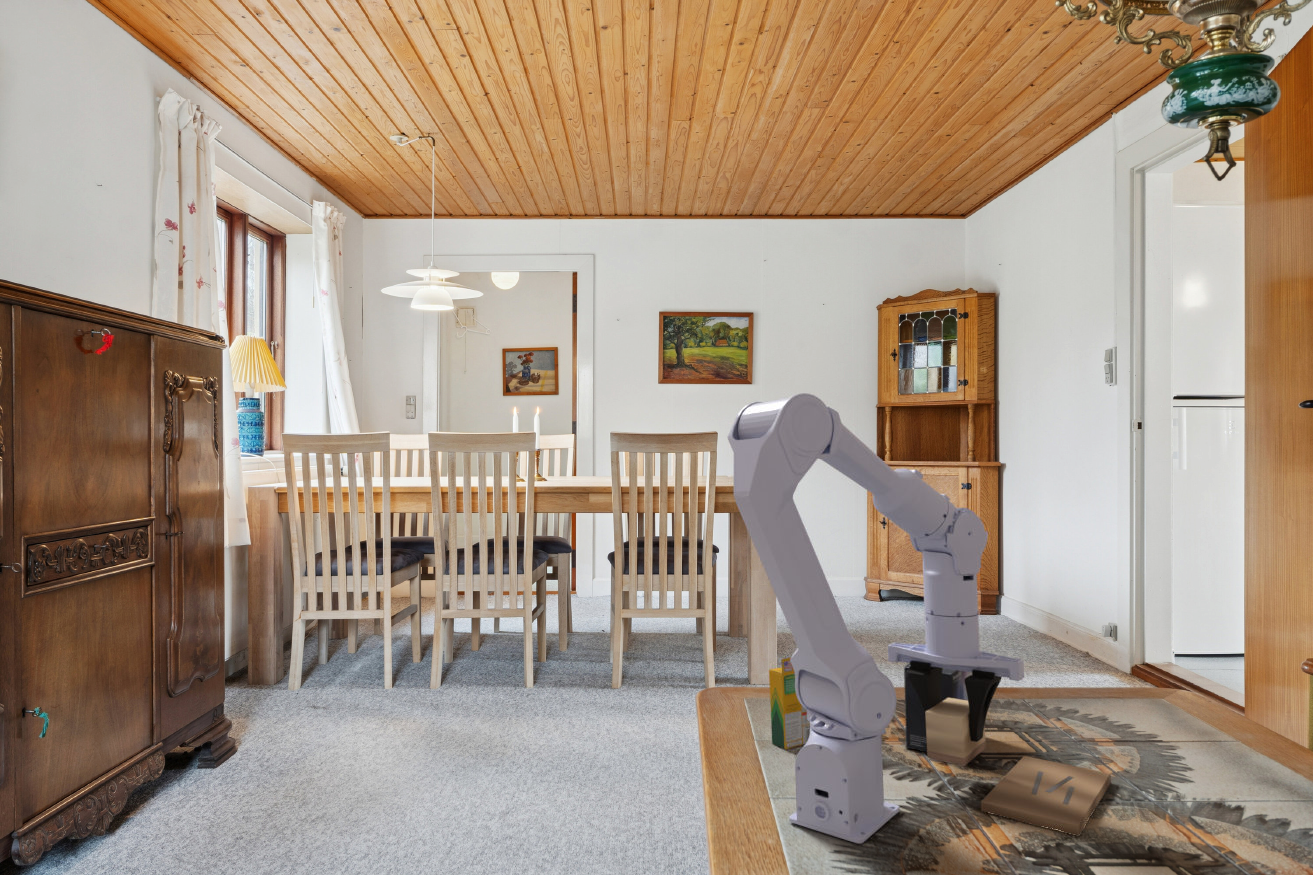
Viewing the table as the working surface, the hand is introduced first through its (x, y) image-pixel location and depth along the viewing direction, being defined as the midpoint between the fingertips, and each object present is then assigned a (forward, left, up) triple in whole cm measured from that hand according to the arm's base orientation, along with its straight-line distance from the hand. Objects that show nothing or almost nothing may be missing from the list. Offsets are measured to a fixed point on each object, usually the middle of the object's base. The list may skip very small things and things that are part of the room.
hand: (955, 734), depth 85 cm
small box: (+13, +6, -6) cm, 16 cm away
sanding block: (0, 0, -2) cm, 2 cm away
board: (+3, -9, -6) cm, 11 cm away
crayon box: (+2, +21, -6) cm, 22 cm away
